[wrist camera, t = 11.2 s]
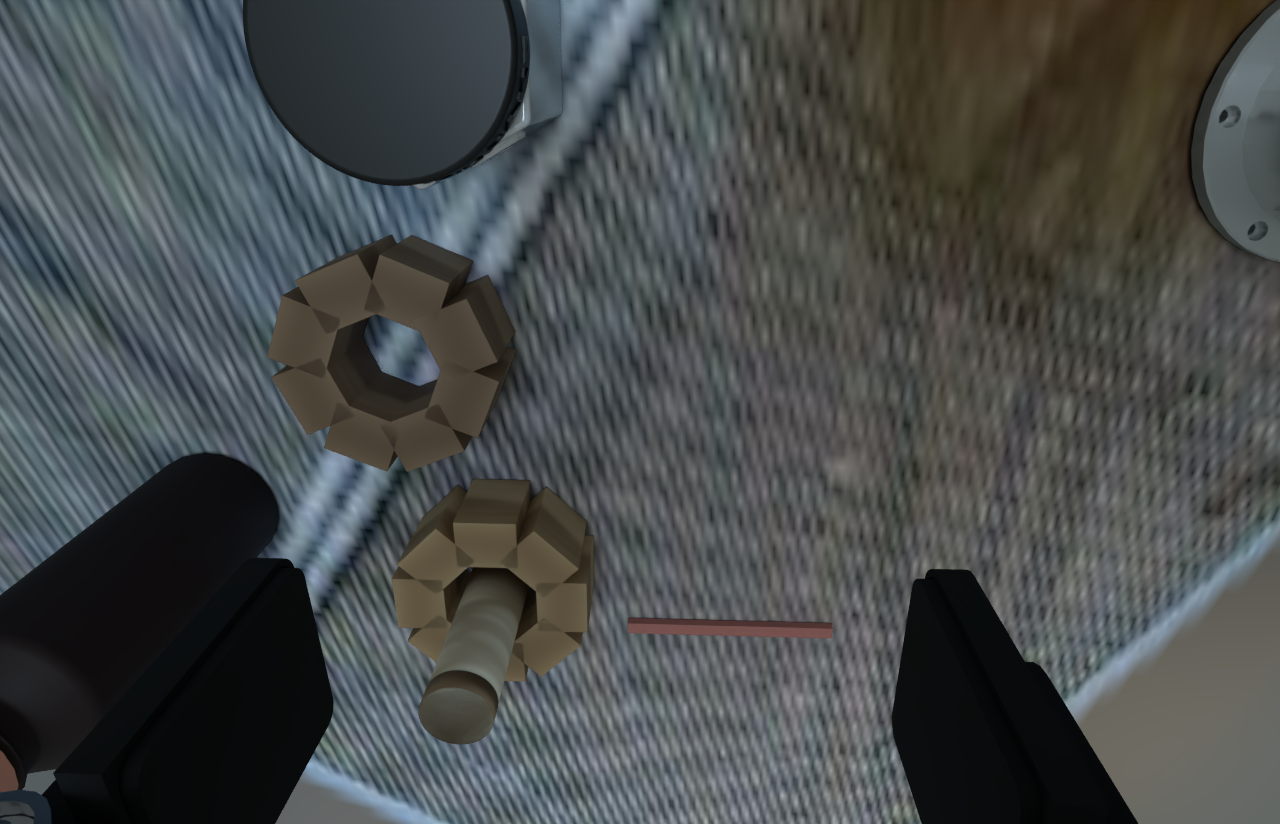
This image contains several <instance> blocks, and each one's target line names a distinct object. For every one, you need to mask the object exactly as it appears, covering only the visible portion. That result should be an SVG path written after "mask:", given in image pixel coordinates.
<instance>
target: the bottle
mask: <svg viewBox="0 0 1280 824" xmlns="http://www.w3.org/2000/svg"><path fill="white" fill-rule="evenodd" d="M277 523H278V520H277V506H276V504H275V501H274V499H273V497H272V494H271V492H270V490H269V489H268V488H267V486H266V485H265V484H264V483H263V481H262V480H261V479H260V478H259V477H258V475H256V474H255V473H253V472H252V471H251V470H249V469H248V468H247V467H245V466H244V465H242V464H241V463H238V462H236V461H233V460H231V459H228V458H226V457H223V456H218V455H210V454H197V455H191V456H185V457H182V458H180V459H178V460H176V461H175V462H173V463H171V464H169V465H167V466H166V467H165V468H163V469H162V470H161V471H160V472H158V473H157V474H156V475H154V476H153V477H152V478H151V479H149V480H148V481H147V482H145V483H144V484H143V485H142V486H140V487H139V488H138V489H136V490H135V491H134V492H133V493H131V494H130V495H129V496H127V497H126V498H125V499H123V500H122V501H121V502H120V503H118V504H117V505H116V506H114V507H113V508H112V509H111V510H109V511H108V512H107V513H105V514H104V515H103V516H102V517H100V518H99V519H98V520H96V521H95V522H94V523H93V524H91V525H90V526H89V527H87V528H86V529H85V530H84V531H82V532H81V533H80V534H78V535H77V536H76V537H75V538H73V539H72V540H71V541H69V542H68V543H67V544H66V545H64V546H63V547H62V548H60V549H59V550H58V551H57V552H55V553H54V554H53V555H51V556H50V557H49V558H48V559H46V560H45V561H44V562H42V563H41V564H40V565H39V566H37V567H36V568H35V569H33V570H32V571H31V572H30V573H28V574H27V575H26V576H24V577H23V578H22V579H21V580H19V581H18V582H17V583H15V584H14V585H13V586H12V587H10V588H9V589H8V590H6V591H5V592H4V593H3V594H1V595H0V792H7V791H14V790H22V789H23V788H24V787H25V783H26V778H27V774H28V773H34V772H40V771H47V770H53V769H57V768H58V767H59V766H60V765H61V764H62V763H63V762H64V761H65V759H66V758H67V757H68V756H69V755H70V754H71V753H72V752H73V751H74V749H75V748H76V747H77V746H78V745H79V744H80V743H81V742H82V741H83V740H84V738H85V737H86V736H87V735H88V734H89V733H90V732H91V731H92V730H93V728H94V727H95V726H96V725H97V724H98V723H99V722H100V721H101V720H102V718H103V717H104V716H105V715H106V714H107V713H108V712H109V711H110V710H111V708H112V707H113V706H114V705H115V704H116V703H117V702H118V701H119V700H120V699H121V697H122V696H123V695H124V694H125V693H126V692H127V691H128V690H129V689H130V687H131V686H132V685H133V684H134V683H135V682H136V681H137V680H138V679H139V677H140V676H141V675H142V674H143V673H144V672H145V671H146V670H147V669H148V667H149V666H150V665H151V664H152V663H153V662H154V661H155V660H156V659H157V658H158V656H159V655H160V654H161V653H162V652H163V651H164V650H165V649H166V648H167V646H168V645H169V644H170V643H171V642H172V641H173V640H174V639H175V638H176V636H177V635H178V634H179V633H180V632H181V631H182V630H183V629H184V628H185V627H186V625H187V624H188V623H189V622H190V621H191V620H192V619H193V618H194V617H195V615H196V614H197V613H198V612H199V611H200V610H201V609H202V608H203V607H204V605H205V604H206V603H207V602H208V601H209V600H210V599H211V598H212V597H213V595H214V594H215V593H216V592H217V591H218V590H219V589H220V588H221V587H222V586H223V584H224V583H225V582H226V581H227V580H228V579H229V578H230V577H231V576H232V574H233V573H234V572H235V571H236V570H237V569H238V568H239V567H240V566H241V564H242V563H243V562H245V561H246V560H247V559H250V558H257V556H258V555H259V554H260V553H261V552H262V550H263V549H264V548H265V547H266V546H267V545H268V543H269V542H270V541H271V540H272V538H273V535H274V532H275V529H276V526H277Z"/></svg>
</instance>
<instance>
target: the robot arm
mask: <svg viewBox="0 0 1280 824" xmlns="http://www.w3.org/2000/svg"><path fill="white" fill-rule="evenodd" d="M1220 115H1221V116H1220ZM1219 116H1220V118H1219ZM1191 160H1192V179H1193V183H1194V186H1195V190H1196V194H1197V197H1198V201H1199V204H1200V205H1201V207H1202V209H1203V211H1204V213H1205V214H1206V216H1207V218H1208V220H1209V222H1210V223H1211V224H1212V225H1213V226H1214V227H1215V228H1216V230H1217V231H1218V232H1219V233H1220V234H1221V235H1222V236H1223V237H1224V238H1225V239H1226V240H1228V241H1229V242H1231V243H1232V244H1234V245H1236V246H1237V247H1239V248H1240V249H1242V250H1244V251H1245V252H1248V253H1251V254H1254V255H1257V256H1260V257H1263V258H1266V259H1269V260H1273V261H1278V262H1280V0H1276V1H1275V2H1274V3H1273V4H1271V5H1270V6H1269V7H1268V8H1266V9H1265V10H1264V11H1263V12H1262V13H1261V14H1260V16H1259V17H1258V18H1257V19H1256V20H1255V21H1254V22H1253V23H1252V24H1251V25H1250V26H1249V27H1248V28H1247V29H1246V30H1245V31H1244V32H1243V33H1242V34H1241V36H1240V37H1239V38H1238V40H1237V41H1236V43H1235V44H1234V45H1233V47H1232V48H1231V50H1230V51H1229V52H1228V54H1227V55H1226V57H1225V58H1224V59H1223V61H1222V62H1221V64H1220V65H1219V67H1218V69H1217V71H1216V73H1215V75H1214V77H1213V79H1212V81H1211V83H1210V85H1209V87H1208V89H1207V91H1206V93H1205V95H1204V98H1203V101H1202V104H1201V107H1200V110H1199V114H1198V117H1197V120H1196V123H1195V129H1194V136H1193V142H1192V149H1191ZM332 713H333V696H332V692H331V687H330V683H329V679H328V674H327V670H326V666H325V662H324V657H323V653H322V649H321V644H320V640H319V636H318V632H317V627H316V623H315V619H314V615H313V610H312V606H311V602H310V597H309V593H308V589H307V585H306V580H305V576H304V574H303V572H302V570H301V569H298V568H294V566H293V564H292V562H291V561H290V560H288V559H281V558H250V559H247V560H246V561H245V562H243V563H242V564H241V566H240V567H239V568H238V569H237V570H236V571H235V572H234V573H233V574H232V576H231V577H230V578H229V579H228V580H227V581H226V582H225V583H224V584H223V586H222V587H221V588H220V589H219V590H218V591H217V592H216V593H215V594H214V595H213V597H212V598H211V599H210V600H209V601H208V602H207V603H206V604H205V605H204V607H203V608H202V609H201V610H200V611H199V612H198V613H197V614H196V615H195V617H194V618H193V619H192V620H191V621H190V622H189V623H188V624H187V625H186V627H185V628H184V629H183V630H182V631H181V632H180V633H179V634H178V635H177V636H176V638H175V639H174V640H173V641H172V642H171V643H170V644H169V645H168V646H167V648H166V649H165V650H164V651H163V652H162V653H161V654H160V655H159V656H158V658H157V659H156V660H155V661H154V662H153V663H152V664H151V665H150V666H149V667H148V669H147V670H146V671H145V672H144V673H143V674H142V675H141V676H140V677H139V679H138V680H137V681H136V682H135V683H134V684H133V685H132V686H131V687H130V689H129V690H128V691H127V692H126V693H125V694H124V695H123V696H122V697H121V699H120V700H119V701H118V702H117V703H116V704H115V705H114V706H113V707H112V708H111V710H110V711H109V712H108V713H107V714H106V715H105V716H104V717H103V718H102V720H101V721H100V722H99V723H98V724H97V725H96V726H95V727H94V728H93V730H92V731H91V732H90V733H89V734H88V735H87V736H86V737H85V738H84V740H83V741H82V742H81V743H80V744H79V745H78V746H77V747H76V748H75V749H74V751H73V752H72V753H71V754H70V755H69V756H68V757H67V758H66V759H65V761H64V762H63V763H62V764H61V765H60V766H59V767H58V768H57V769H56V771H55V772H54V773H53V774H54V776H55V778H56V780H55V781H54V782H53V783H52V784H51V786H49V788H48V789H47V790H46V791H45V792H44V793H43V794H42V795H40V794H39V793H37V792H35V791H26V790H14V791H7V792H0V824H275V823H276V821H277V819H278V817H279V816H280V814H281V811H282V810H283V808H284V806H285V804H286V803H287V801H288V799H289V797H290V795H291V793H292V792H293V789H294V788H295V786H296V784H297V782H298V781H299V779H300V777H301V775H302V773H303V771H304V770H305V768H306V766H307V764H308V762H309V760H310V759H311V757H312V755H313V753H314V751H315V749H316V747H317V746H318V744H319V742H320V740H321V738H322V736H323V735H324V733H325V731H326V729H327V727H328V725H329V723H330V721H331V717H332ZM892 727H893V734H894V739H895V742H896V746H897V749H898V752H899V755H900V758H901V761H902V764H903V767H904V770H905V773H906V777H907V780H908V783H909V786H910V789H911V792H912V795H913V798H914V801H915V804H916V807H917V811H918V814H919V817H920V820H921V823H922V824H1138V822H1137V821H1136V819H1135V817H1134V816H1133V814H1132V812H1131V811H1130V809H1129V808H1128V806H1127V804H1126V803H1125V801H1124V800H1123V798H1122V796H1121V795H1120V793H1119V792H1118V790H1117V788H1116V787H1115V785H1114V783H1113V782H1112V780H1111V778H1110V777H1109V775H1108V773H1107V772H1106V770H1105V768H1104V767H1103V765H1102V764H1101V762H1100V760H1099V759H1098V757H1097V755H1096V754H1095V752H1094V751H1093V749H1092V747H1091V746H1090V744H1089V742H1088V741H1087V739H1086V737H1085V736H1084V734H1083V733H1082V731H1081V729H1080V728H1079V726H1078V724H1077V723H1076V721H1075V720H1074V718H1073V716H1072V715H1071V713H1070V711H1069V710H1068V708H1067V707H1066V705H1065V703H1064V702H1063V700H1062V698H1061V697H1060V695H1059V693H1058V692H1057V690H1056V689H1055V687H1054V685H1053V684H1052V682H1051V680H1050V679H1049V677H1048V676H1047V674H1046V673H1045V672H1044V670H1043V669H1042V668H1041V666H1039V665H1038V664H1036V663H1034V662H1025V661H1024V660H1023V658H1022V656H1021V655H1020V653H1019V651H1018V649H1017V648H1016V646H1015V644H1014V643H1013V641H1012V639H1011V638H1010V636H1009V634H1008V632H1007V631H1006V629H1005V627H1004V626H1003V624H1002V622H1001V621H1000V619H999V617H998V615H997V614H996V612H995V610H994V609H993V607H992V605H991V604H990V602H989V600H988V598H987V597H986V595H985V593H984V592H983V590H982V588H981V587H980V585H979V583H978V581H977V580H976V578H975V576H974V575H973V574H972V572H971V571H969V570H951V569H930V570H928V571H927V573H926V575H925V579H915V581H914V582H913V586H912V592H911V598H910V605H909V611H908V617H907V624H906V630H905V636H904V643H903V649H902V655H901V662H900V668H899V674H898V681H897V687H896V693H895V700H894V706H893V712H892Z"/></svg>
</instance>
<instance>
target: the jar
mask: <svg viewBox="0 0 1280 824" xmlns="http://www.w3.org/2000/svg"><path fill="white" fill-rule="evenodd" d="M243 26H244V35H245V42H246V48H247V52H248V56H249V60H250V63H251V66H252V69H253V72H254V75H255V78H256V80H257V82H258V85H259V87H260V89H261V91H262V93H263V95H264V97H265V99H266V101H267V102H268V104H269V106H270V107H271V109H272V110H273V112H274V114H275V115H276V116H277V118H278V119H279V120H280V122H281V123H282V124H283V126H284V127H285V128H286V129H287V130H288V132H289V133H290V134H291V135H292V136H293V137H294V138H295V139H296V140H297V141H298V142H299V143H300V144H301V145H302V146H303V147H304V148H305V149H307V150H308V151H309V152H310V153H312V154H313V155H314V156H315V157H317V158H318V159H320V160H321V161H323V162H324V163H326V164H327V165H329V166H331V167H333V168H334V169H336V170H338V171H340V172H342V173H345V174H347V175H349V176H351V177H354V178H357V179H360V180H363V181H367V182H371V183H376V184H382V185H392V186H408V185H413V186H414V187H416V188H418V189H422V190H423V189H427V188H429V187H431V186H433V185H435V184H437V183H440V182H442V181H444V180H446V179H448V178H451V177H453V176H455V175H457V174H459V173H462V172H464V171H466V170H468V169H470V168H475V167H477V166H479V165H482V164H483V163H485V162H486V161H488V160H489V159H492V158H494V157H496V156H497V155H500V154H502V153H503V152H505V151H507V150H508V149H510V148H511V147H513V146H514V145H516V144H517V143H518V142H519V141H521V140H523V139H524V138H525V136H527V135H529V134H530V133H532V132H534V131H535V130H537V129H538V128H540V127H542V126H543V125H545V124H547V123H548V122H550V121H551V120H553V119H555V118H556V117H558V116H559V115H561V113H562V78H561V37H560V2H559V0H243Z"/></svg>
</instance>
